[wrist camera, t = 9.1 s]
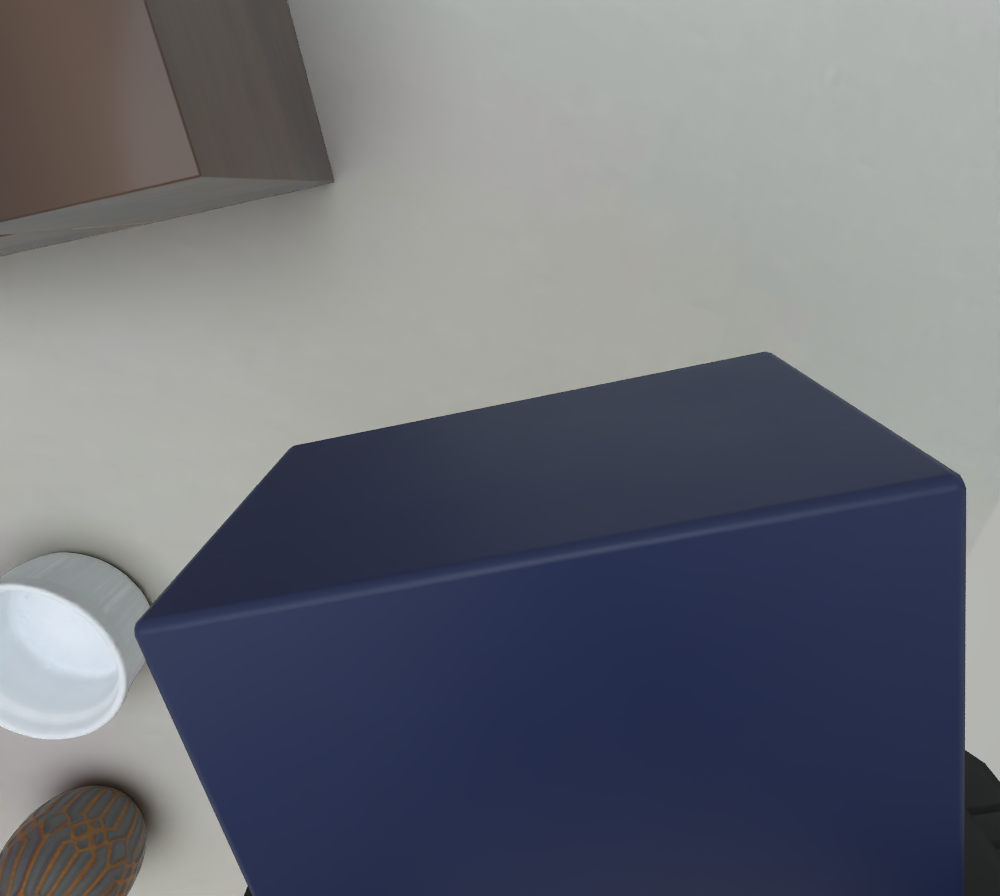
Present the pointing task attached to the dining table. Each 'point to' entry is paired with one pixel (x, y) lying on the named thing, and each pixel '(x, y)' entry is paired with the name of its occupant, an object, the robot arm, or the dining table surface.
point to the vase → (76, 846)
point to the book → (586, 651)
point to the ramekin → (66, 645)
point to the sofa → (147, 113)
